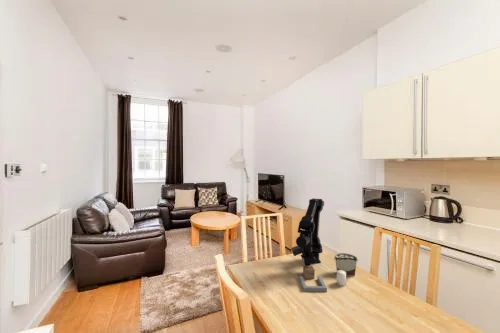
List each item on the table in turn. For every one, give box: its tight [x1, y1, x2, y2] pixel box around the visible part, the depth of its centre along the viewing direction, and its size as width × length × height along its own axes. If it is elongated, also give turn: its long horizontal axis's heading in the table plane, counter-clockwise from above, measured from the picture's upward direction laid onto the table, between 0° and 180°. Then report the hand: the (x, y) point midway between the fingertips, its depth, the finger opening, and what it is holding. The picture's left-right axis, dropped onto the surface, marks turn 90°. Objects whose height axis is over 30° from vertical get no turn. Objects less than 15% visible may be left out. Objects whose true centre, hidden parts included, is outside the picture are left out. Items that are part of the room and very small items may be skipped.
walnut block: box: [302, 264, 315, 280], centre depth 123 cm, size 5×5×5 cm
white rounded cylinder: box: [336, 270, 347, 287], centre depth 116 cm, size 4×4×6 cm
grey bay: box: [298, 275, 328, 293], centre depth 114 cm, size 12×11×2 cm
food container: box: [333, 252, 359, 277], centre depth 127 cm, size 12×6×10 cm, turn 84°
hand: (306, 269), depth 128 cm, fingers closed
